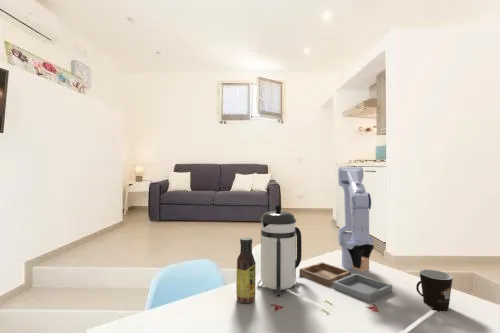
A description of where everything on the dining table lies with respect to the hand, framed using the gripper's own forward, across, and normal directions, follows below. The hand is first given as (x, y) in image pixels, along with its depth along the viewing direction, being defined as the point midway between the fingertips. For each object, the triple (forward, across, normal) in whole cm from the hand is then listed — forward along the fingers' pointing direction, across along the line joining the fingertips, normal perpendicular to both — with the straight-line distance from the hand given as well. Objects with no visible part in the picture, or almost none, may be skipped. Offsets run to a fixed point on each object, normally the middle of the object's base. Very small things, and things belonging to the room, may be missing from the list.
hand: (360, 266), depth 98 cm
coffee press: (+9, -20, +20) cm, 30 cm away
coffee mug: (+9, +8, -19) cm, 23 cm away
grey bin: (+9, 0, -1) cm, 9 cm away
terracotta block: (+1, 0, 0) cm, 1 cm away
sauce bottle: (+9, -36, +19) cm, 42 cm away
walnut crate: (+9, 0, +15) cm, 18 cm away
